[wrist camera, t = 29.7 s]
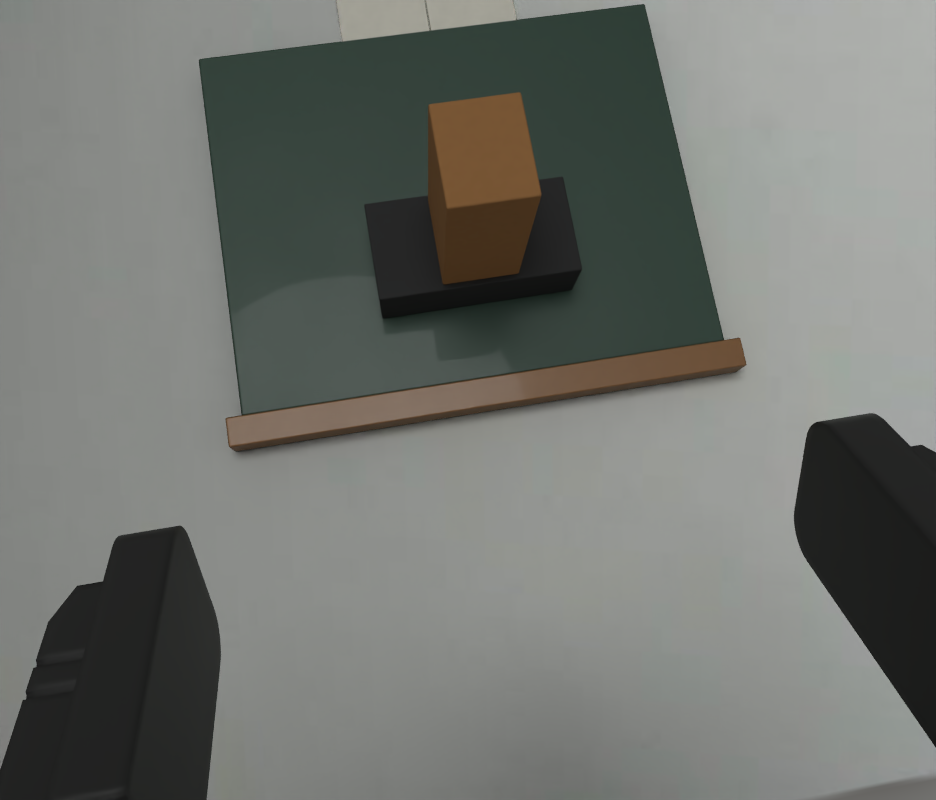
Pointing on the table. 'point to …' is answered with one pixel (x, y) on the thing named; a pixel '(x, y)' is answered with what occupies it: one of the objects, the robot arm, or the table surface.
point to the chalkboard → (406, 175)
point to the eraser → (474, 217)
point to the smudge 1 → (380, 18)
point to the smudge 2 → (468, 12)
